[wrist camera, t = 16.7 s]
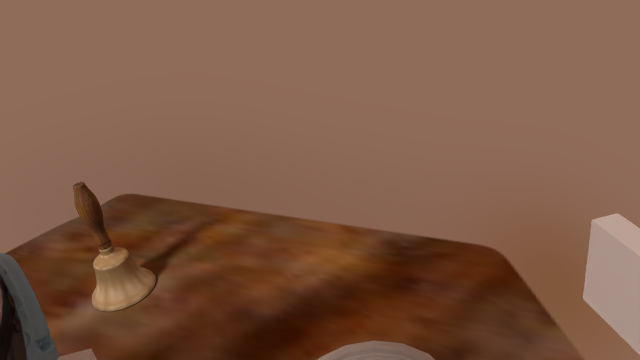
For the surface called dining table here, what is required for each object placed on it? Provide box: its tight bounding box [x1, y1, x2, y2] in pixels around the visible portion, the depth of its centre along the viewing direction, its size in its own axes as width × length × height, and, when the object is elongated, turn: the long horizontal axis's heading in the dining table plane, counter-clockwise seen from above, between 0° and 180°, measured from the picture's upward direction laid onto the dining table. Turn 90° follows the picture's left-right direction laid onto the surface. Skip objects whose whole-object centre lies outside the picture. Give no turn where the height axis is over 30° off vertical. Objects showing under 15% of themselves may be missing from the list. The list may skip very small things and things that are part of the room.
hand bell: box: [73, 182, 156, 311], centre depth 66 cm, size 8×8×16 cm
